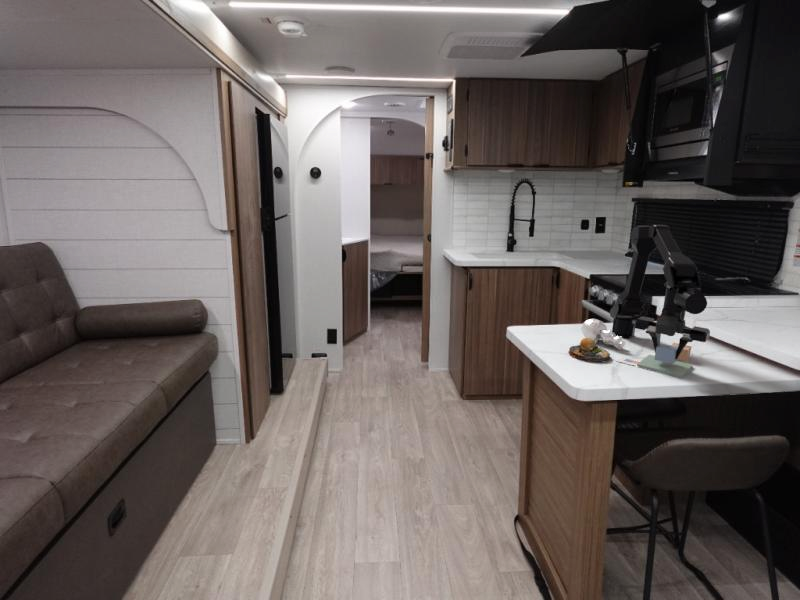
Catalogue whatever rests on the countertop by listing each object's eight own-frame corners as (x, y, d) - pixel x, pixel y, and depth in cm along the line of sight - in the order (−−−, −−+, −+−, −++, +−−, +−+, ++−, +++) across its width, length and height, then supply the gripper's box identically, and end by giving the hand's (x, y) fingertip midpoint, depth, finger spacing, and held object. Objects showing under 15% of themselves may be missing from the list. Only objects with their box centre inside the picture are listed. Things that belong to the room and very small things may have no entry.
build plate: (637, 366, 145) (637, 364, 145) (649, 356, 154) (649, 354, 154) (682, 378, 138) (682, 375, 137) (692, 367, 146) (692, 364, 146)
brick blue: (659, 355, 149) (661, 343, 148) (677, 359, 146) (679, 347, 145) (654, 359, 145) (656, 346, 144) (673, 364, 142) (675, 351, 141)
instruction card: (616, 361, 149) (616, 360, 149) (622, 356, 154) (622, 356, 154) (644, 368, 144) (644, 367, 144) (650, 363, 148) (650, 362, 148)
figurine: (621, 327, 156) (587, 308, 169) (605, 344, 156) (572, 323, 168) (631, 345, 162) (598, 325, 175) (615, 361, 162) (583, 340, 175)
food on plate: (617, 362, 149) (620, 338, 147) (582, 364, 147) (585, 340, 145) (593, 349, 161) (596, 327, 159) (561, 351, 158) (563, 328, 156)
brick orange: (667, 358, 154) (670, 346, 153) (671, 354, 157) (673, 342, 157) (686, 362, 151) (688, 350, 150) (689, 358, 154) (691, 346, 153)
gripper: (631, 303, 142) (624, 355, 145) (706, 316, 130) (696, 372, 133) (643, 297, 150) (636, 346, 153) (714, 309, 138) (704, 362, 141)
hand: (666, 356), depth 145 cm, fingers closed on brick blue, 5 cm apart
